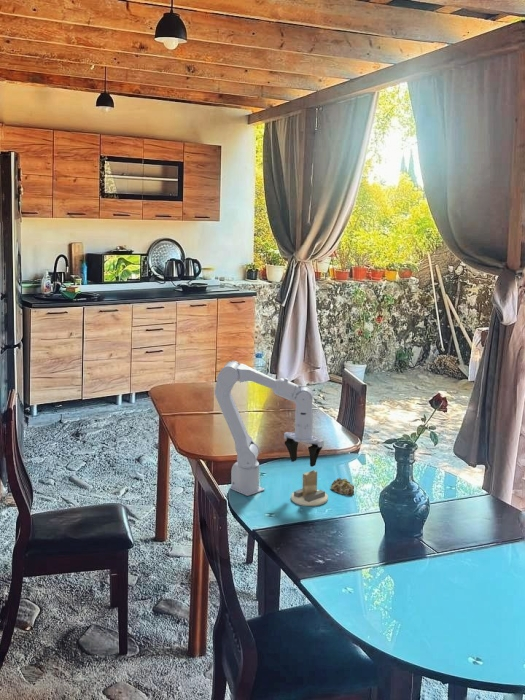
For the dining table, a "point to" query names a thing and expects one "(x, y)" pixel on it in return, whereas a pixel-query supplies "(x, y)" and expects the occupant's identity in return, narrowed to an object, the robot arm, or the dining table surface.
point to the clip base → (301, 500)
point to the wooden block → (309, 482)
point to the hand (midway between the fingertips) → (303, 463)
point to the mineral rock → (342, 486)
